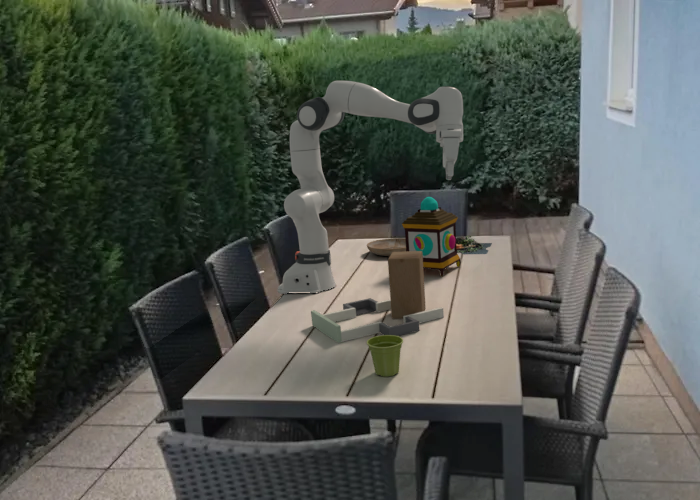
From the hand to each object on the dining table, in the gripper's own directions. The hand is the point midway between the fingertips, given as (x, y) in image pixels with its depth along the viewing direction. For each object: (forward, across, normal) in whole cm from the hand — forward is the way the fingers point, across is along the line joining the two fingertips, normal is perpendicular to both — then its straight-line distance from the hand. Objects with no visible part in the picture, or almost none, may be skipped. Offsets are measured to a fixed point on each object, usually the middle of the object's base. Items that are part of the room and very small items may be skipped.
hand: (449, 178), depth 226 cm
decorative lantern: (+32, -51, -4) cm, 60 cm away
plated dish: (+23, -86, +8) cm, 90 cm away
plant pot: (+56, +50, -19) cm, 77 cm away
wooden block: (+45, +3, -13) cm, 47 cm away
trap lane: (+46, +9, -23) cm, 53 cm away
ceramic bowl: (+25, -85, -21) cm, 91 cm away
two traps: (+46, +9, -23) cm, 53 cm away
